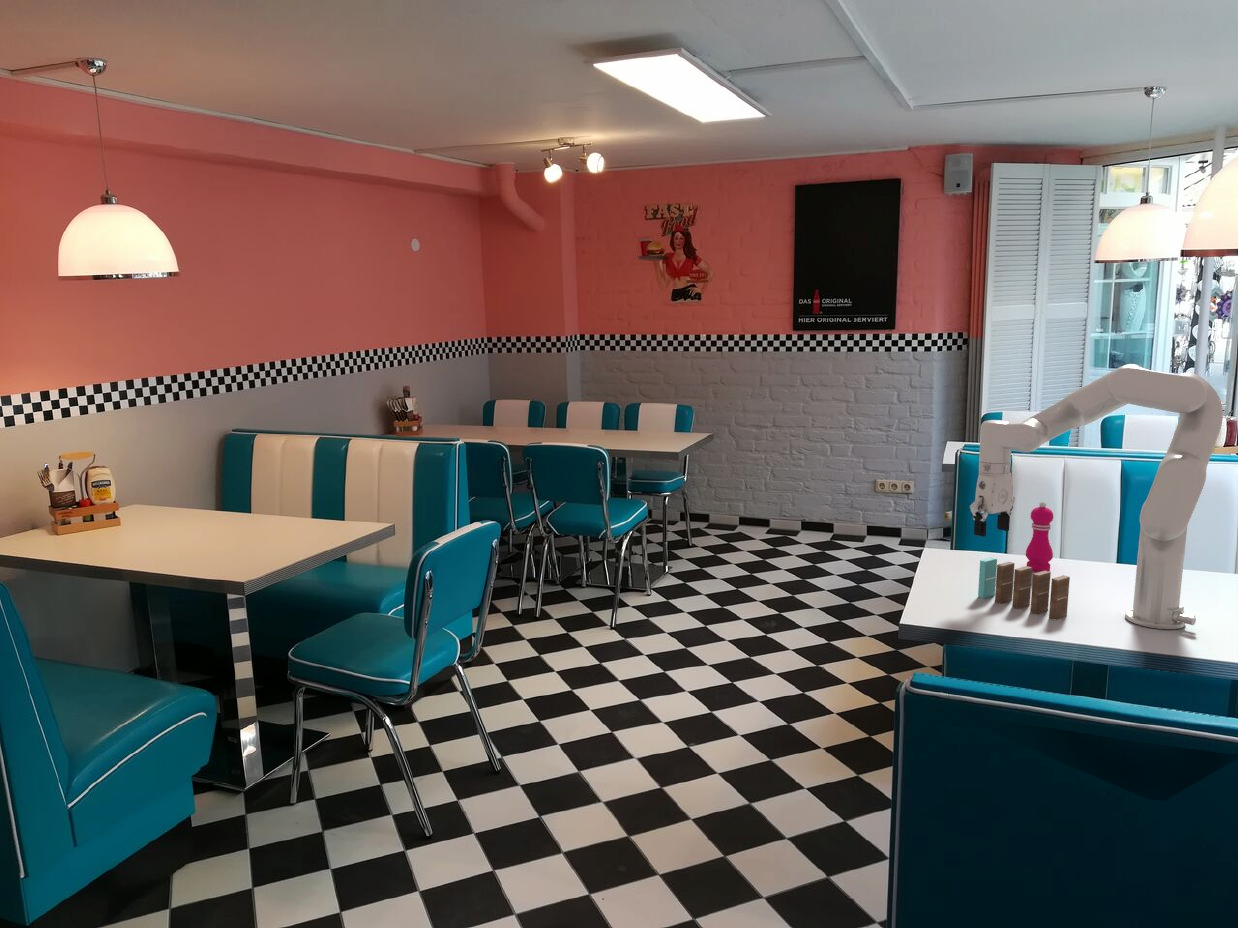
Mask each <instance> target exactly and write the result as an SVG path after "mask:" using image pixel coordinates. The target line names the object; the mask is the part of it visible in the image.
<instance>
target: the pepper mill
mask: <svg viewBox="0 0 1238 928" xmlns="http://www.w3.org/2000/svg"><path fill="white" fill-rule="evenodd" d="M1038 504H1039V506H1038V507H1037V506H1036V507H1034V508H1033V509H1032V510H1031V512H1030V519H1031V521H1032V523H1031V528H1032V537H1031V540H1030V542H1029V544H1028V545H1027V547H1026V551H1025V557H1026V559H1027V562H1026V566H1028V567H1032V572H1035V573H1038V572H1042V571H1048V572H1051V563H1050V562H1051V561H1052V560H1053V557H1054V552H1053V549H1052V546H1051V543H1050V540H1049V533H1050V530H1051V529H1052V528H1051V526H1052V524H1051V523H1052V521H1054V512H1053V511H1052V510H1051V509H1050V508H1049V507H1046V506H1047V503H1046V502H1045V501H1040V502H1039V503H1038Z"/></svg>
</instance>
